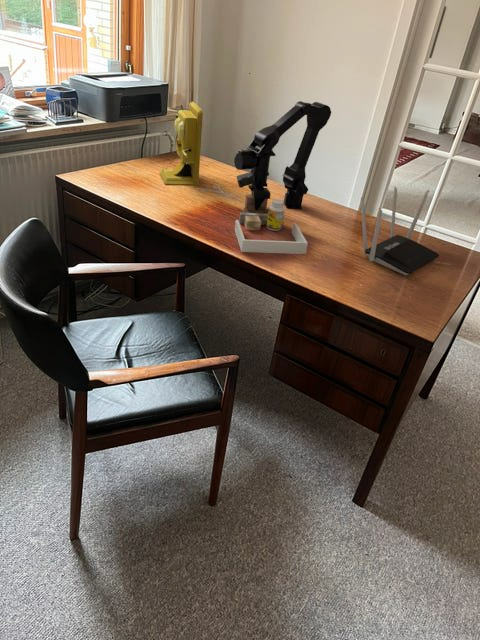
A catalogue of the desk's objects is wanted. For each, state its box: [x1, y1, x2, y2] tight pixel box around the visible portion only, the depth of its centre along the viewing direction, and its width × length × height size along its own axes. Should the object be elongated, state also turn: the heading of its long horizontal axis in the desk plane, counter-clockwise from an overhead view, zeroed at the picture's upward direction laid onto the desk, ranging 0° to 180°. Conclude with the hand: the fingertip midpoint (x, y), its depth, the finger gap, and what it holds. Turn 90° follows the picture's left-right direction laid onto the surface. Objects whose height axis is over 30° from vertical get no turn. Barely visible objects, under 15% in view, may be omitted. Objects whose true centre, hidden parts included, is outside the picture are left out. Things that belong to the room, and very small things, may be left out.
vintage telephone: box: [158, 101, 204, 187], centre depth 199 cm, size 31×14×30 cm, turn 17°
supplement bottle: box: [265, 199, 285, 232], centre depth 170 cm, size 6×6×10 cm
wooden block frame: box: [238, 193, 285, 226], centre depth 179 cm, size 16×16×6 cm
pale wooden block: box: [243, 216, 261, 231], centre depth 171 cm, size 5×5×4 cm
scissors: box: [196, 184, 242, 201], centre depth 198 cm, size 11×1×20 cm
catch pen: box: [234, 219, 308, 255], centre depth 162 cm, size 22×17×4 cm
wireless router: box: [360, 186, 440, 276], centre depth 159 cm, size 34×23×20 cm
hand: (255, 207), depth 185 cm, fingers open, 4 cm apart
